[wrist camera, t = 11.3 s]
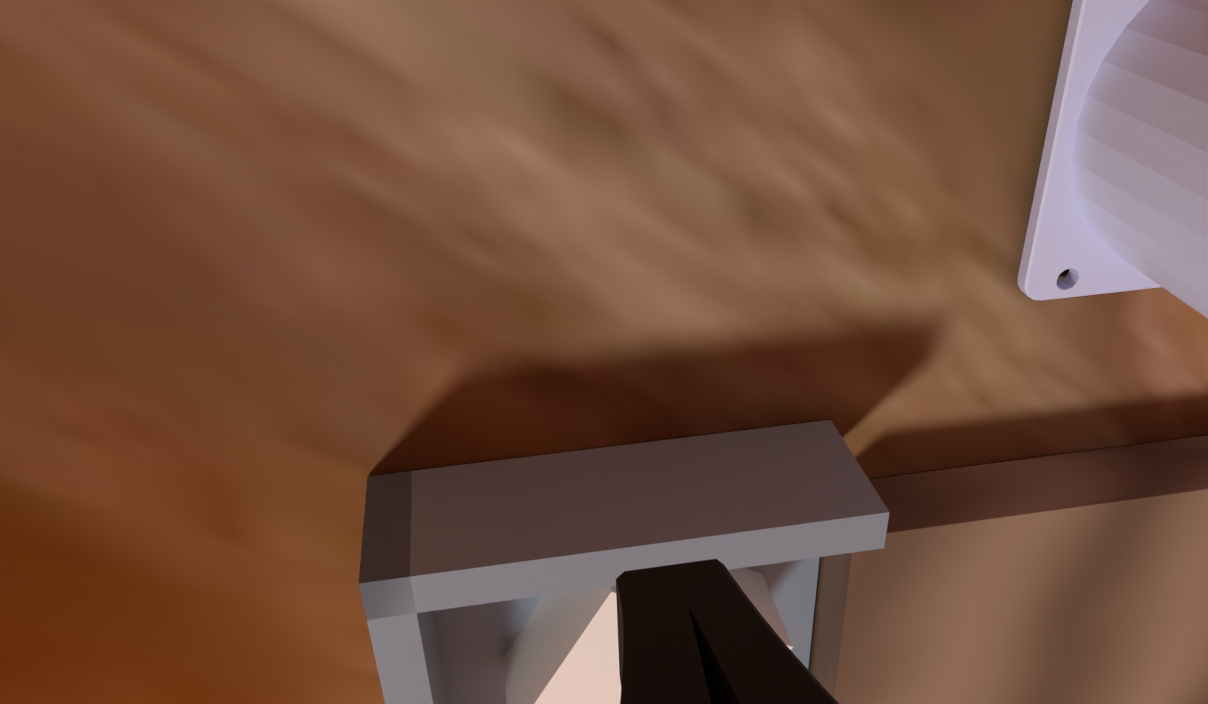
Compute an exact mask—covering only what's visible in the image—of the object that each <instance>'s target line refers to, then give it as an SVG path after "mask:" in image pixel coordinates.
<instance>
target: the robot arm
mask: <svg viewBox="0 0 1208 704" xmlns="http://www.w3.org/2000/svg"><path fill="white" fill-rule="evenodd" d="M1067 269H1069V271H1068V273H1067V276H1066V277H1064V278H1063V279H1062V280H1061V281H1058V282H1057V278H1058V276H1059V275H1060V274H1061V273H1062V272H1063V271H1064V270H1067ZM1018 286H1019V287H1020V289H1021V291H1022V292H1024V293H1025V294H1026V295H1027V296H1028V297H1030V298H1032V299H1033V300H1049V299H1058V298H1067V297H1076V296H1085V295H1095V294H1104V293H1113V292H1122V291H1131V290H1140V289H1149V288H1158V287H1163V288H1164V289H1166V290H1167V291H1169V292H1170V293H1172V294H1173V295H1174V296H1176V297H1177V298H1179V299H1180V300H1182V301H1183V302H1185V303H1186V304H1188V305H1189V306H1190V307H1192V308H1193V309H1195V310H1196V311H1198V312H1199V313H1201V314H1202V315H1204V316H1205V317H1206V318H1208V0H1073V3H1072V8H1071V13H1070V18H1069V23H1068V28H1067V33H1066V38H1065V43H1064V48H1063V53H1062V58H1061V63H1060V68H1059V73H1058V78H1057V83H1056V88H1055V93H1054V98H1053V103H1052V108H1051V113H1050V118H1049V123H1048V128H1047V133H1046V138H1045V143H1044V148H1043V153H1042V158H1041V163H1040V168H1039V173H1038V178H1037V183H1036V188H1035V193H1034V198H1033V203H1032V208H1031V213H1030V218H1029V223H1028V228H1027V233H1026V238H1025V243H1024V248H1023V253H1022V258H1021V263H1020V268H1019V273H1018ZM616 598H617V623H618V649H619V674H620V682H621V698H620V704H839V703H838V702H837V701H836V700H835V699H834V698H833V697H832V696H831V694H830V693H829V692H828V691H827V690H826V689H825V688H824V687H823V686H822V685H821V684H820V683H819V681H818V680H817V679H816V678H815V677H814V676H813V675H812V674H811V672H810V671H809V670H808V669H807V668H806V667H805V666H804V665H803V664H802V662H801V661H800V660H799V659H798V658H797V657H796V656H795V655H794V653H793V652H792V651H791V650H790V649H789V648H788V646H787V645H786V644H785V643H784V642H783V641H782V639H781V638H780V637H779V636H778V635H777V633H776V632H775V631H774V630H773V628H772V627H771V626H770V625H769V624H768V622H767V621H766V620H765V619H764V617H763V616H762V615H761V614H760V612H759V611H758V610H757V609H756V607H755V606H754V605H753V603H752V602H751V601H750V600H749V598H748V597H747V596H746V594H745V593H744V592H743V590H742V589H741V588H740V586H739V585H738V583H737V582H736V581H735V579H734V578H733V577H732V575H731V574H730V572H729V571H728V569H727V568H726V567H725V565H724V564H723V563H721V562H720V561H719V560H717V559H710V560H703V561H695V562H688V563H681V564H673V565H666V566H659V567H652V568H644V569H637V570H630V571H624V572H623V573H622V574H621V575H620V576H619V577H618V578H616Z"/></svg>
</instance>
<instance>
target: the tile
mask: <svg viewBox="0 0 1208 704" xmlns="http://www.w3.org/2000/svg"><path fill="white" fill-rule="evenodd" d="M728 571H729V572H730V574H731V575H732V577H733V578H734V579H735V581H736V582H737V583H738V585H739V586H740V588H741V589H742V590H743V592H744V593H745V594H746V596H747V597H748V598H749V600H750V601H751V602H752V603H753V605H754V606H755V607H756V609H757V610H758V611H759V612H760V614H761V615H762V616H763V617H764V619H765V620H766V621H767V622H768V624H769V625H770V626H771V627H772V628H773V630H774V631H775V632H776V633H777V635H778V636H779V637H780V638H781V639H782V641H783V642H784V643H785V644H786V645H787V646H788V648H789V649H790V650H791V649H792V648H793V645H792V643H791V641H790V638H789V636H788V634H787V631H786V629H785V626H784V624H783V622H782V619H781V617H780V615H779V612H778V610H777V608H776V605H775V603H774V601H773V598H772V596H771V593H770V591H769V589H768V586H767V584H766V582H765V579H764V577H763V575H762V574H761V573H758V572H755V571H752V570H749V569H746V568H738V569H731V570H728ZM503 670H504V681H505V693H506V704H620V698H621V682H620V674H619V649H618V623H617V598H616V586H608V587H601V588H594V589H587V590H580V591H572V592H565V593H558V594H551V595H544V596H543V598H542V599H541V601H540V602H539V604H538V605H537V607H536V608H535V610H534V611H533V613H532V614H531V616H530V617H529V619H528V621H527V622H526V624H525V625H524V627H523V628H522V630H521V631H520V633H519V634H518V636H517V637H516V639H515V640H514V642H513V644H512V645H511V647H510V648H509V650H508V651H507V653H506V654H505V656H504V657H503Z"/></svg>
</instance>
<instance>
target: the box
mask: <svg viewBox="0 0 1208 704" xmlns="http://www.w3.org/2000/svg"><path fill="white" fill-rule="evenodd" d="M888 519H889V511H888V509H887V508H886V506H885V504H884V503H883V501H882V500H881V498H880V496H879V495H878V493H877V492H876V490H875V489H874V487H873V485H872V484H871V482H870V481H869V479H868V478H867V476H866V474H865V473H864V471H863V470H862V468H861V467H860V465H859V463H858V462H857V460H856V459H855V457H854V455H853V454H852V452H851V451H850V449H849V448H848V446H847V444H846V443H845V441H844V440H843V438H842V437H841V435H840V433H839V432H838V430H837V429H836V427H835V426H834V424H833V422H832V421H831V420H824V421H815V422H807V423H799V424H791V425H783V426H774V427H766V428H758V429H750V430H742V431H734V432H725V433H717V434H709V435H701V436H693V437H684V438H676V439H668V440H660V441H652V442H644V443H635V444H627V445H619V446H611V447H603V448H594V449H586V450H578V451H570V452H562V453H553V454H545V455H537V456H529V457H521V458H513V459H504V460H496V461H488V462H480V463H472V464H463V465H455V466H447V467H439V468H431V469H423V470H414V471H406V472H398V473H390V474H382V475H373V476H368V479H367V491H366V503H365V515H364V527H363V539H362V551H361V563H360V575H359V587H360V592H361V596H362V601H363V605H364V610H365V614H366V619H367V623H368V628H369V632H370V637H371V641H372V646H373V650H374V655H375V660H376V664H377V669H378V673H379V678H380V682H381V687H382V691H383V696H384V700H385V704H506V693H505V681H504V670H503V657H504V656H505V654H506V653H507V651H508V650H509V648H510V647H511V645H512V644H513V642H514V640H515V639H516V637H517V636H518V634H519V633H520V631H521V630H522V628H523V627H524V625H525V624H526V622H527V621H528V619H529V617H530V616H531V614H532V613H533V611H534V610H535V608H536V607H537V605H538V604H539V602H540V601H541V599H542V598H543V596H544V595H551V594H558V593H565V592H572V591H580V590H587V589H594V588H601V587H608V586H616V578H618V577H619V576H620V575H621V574H622V573H623V572H624V571H630V570H637V569H644V568H652V567H659V566H666V565H673V564H681V563H688V562H695V561H703V560H710V559H717V560H719V561H720V562H721V563H723V564H724V565H725V567H726V568H727V569H728V570H731V569H738V568H746V569H749V570H752V571H755V572H758V573H761V574H762V575H763V577H764V579H765V582H766V584H767V586H768V589H769V591H770V593H771V596H772V598H773V601H774V603H775V605H776V608H777V610H778V612H779V615H780V617H781V619H782V622H783V624H784V626H785V629H786V631H787V634H788V636H789V638H790V641H791V643H792V645H793V648H792V649H791V651H792V652H793V653H794V655H795V656H796V657H797V658H798V659H799V660H800V661H801V662H802V664H803V665H804V666H805V667H806V668H807V669H808V667H809V657H810V647H811V637H812V628H813V618H814V608H815V598H816V588H817V578H818V569H819V559H820V557H824V556H831V555H839V554H846V553H853V552H860V551H867V550H875V549H882V548H884V546H885V539H886V532H887V526H888Z"/></svg>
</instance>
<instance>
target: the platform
mask: <svg viewBox="0 0 1208 704" xmlns="http://www.w3.org/2000/svg"><path fill="white" fill-rule="evenodd" d="M869 481H870V482H871V484H872V485H873V487H874V489H875V490H876V492H877V493H878V495H879V496H880V498H881V500H882V501H883V503H884V504H885V506H886V508H887V509H888V511H889V519H888V526H887V532H886V539H885V546H884V548H882V549H875V550H867V551H860V552H853V553H846V554H839V555H831V556H824V557H820V559H819V569H818V578H817V588H816V598H815V608H814V618H813V628H812V637H811V647H810V657H809V667H808V670H809V671H810V672H811V674H812V675H813V676H814V677H815V678H816V679H817V680H818V681H819V683H820V684H821V685H822V686H823V687H824V688H825V689H826V690H827V691H828V692H829V693H830V694H831V696H832V697H833V698H834V699H835V700H836V701H837V702H838V703H839V704H1208V435H1206V436H1198V437H1191V438H1183V439H1175V440H1168V441H1160V442H1152V443H1145V444H1137V445H1129V446H1122V447H1114V448H1106V449H1099V450H1091V451H1083V452H1075V453H1068V454H1060V455H1052V456H1045V457H1037V458H1029V459H1022V460H1014V461H1006V462H999V463H991V464H983V465H976V466H968V467H960V468H953V469H945V470H937V471H930V472H922V473H914V474H906V475H899V476H891V477H883V478H876V479H869Z"/></svg>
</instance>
